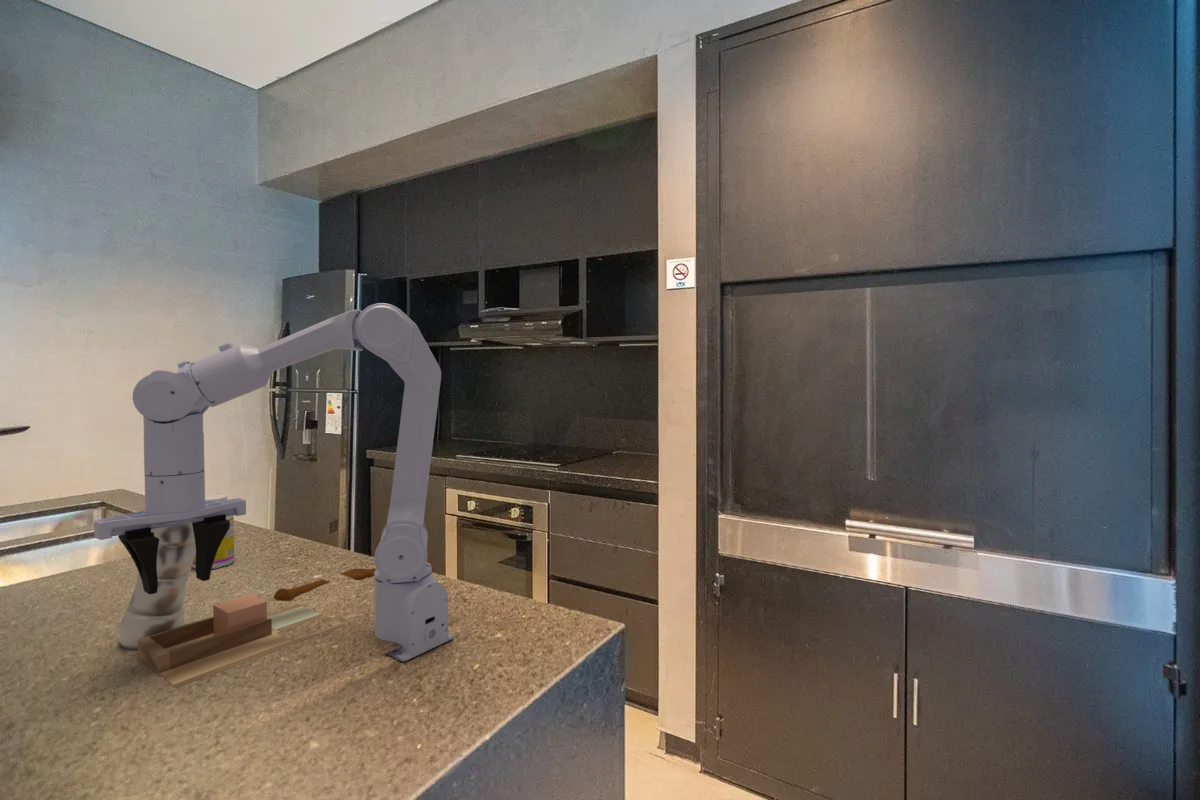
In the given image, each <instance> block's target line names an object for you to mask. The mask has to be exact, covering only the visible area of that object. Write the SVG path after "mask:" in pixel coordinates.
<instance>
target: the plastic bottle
mask: <svg viewBox="0 0 1200 800" xmlns="http://www.w3.org/2000/svg"><path fill="white" fill-rule="evenodd" d="M160 523H163V522H160ZM151 532H154V536H155V537H157V538H158V539H159V544H158V552H157V579H158V590H157V593H154V594H148V593H146V592H145V591H144V588H143V584H142V580H141V577H140V574H139V573H138V574H137V578H136V584H135V586H134V590H133V593H132V596H131V598H130V601H129V604H128V607H127V609H126V610H125V612H124V615H123V616H122V619H121V621H120V624H119V627H118V641H119V643H120V644H121V646H122V647H123V648H124V649H126V650H127V649H128V650H138V639H140V638H144V637H147V636H150V635H154V634H157V633H160V632H164V631H167V630H170V629H174V628H177V627H180V626H184V613H185V612H184V611H185V609H184V604H185V596H186V591H187V590H186V589H187V583H188V580H189V576H190V573H191V571H192V570H191V569H192V563H193V560H194V558H195V555H196V545H195V537H194V531H193V526H192V523H187V524H182V525H176V526H170V527H164V528H159V529H153V530H151Z"/></svg>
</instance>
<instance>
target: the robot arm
mask: <svg viewBox="0 0 1200 800" xmlns="http://www.w3.org/2000/svg"><path fill="white" fill-rule="evenodd" d="M363 347H364V348H365V349H366V350H368V351H369V352H371V353H372V354H374V355H375V356H377V357H378V358H380V359H383V361H385V362H387V363H388V364H389V366H390V367H391V369H392V370H393V371H394V372H395V373H396V374H397V375H398V376H399V377H400V379H401V380H402V381H403V382H404V388H403V390H404V391H403V394H402V396H403V397H402V405H401V414H400V422H399V429H398V435H397V436H398V438H397V445H396V454H395V460H394V461H395V462H394V468H393V469H394V470H393V478H392V486H391V493H390V502H389V508H388V515H387V518H386V524H385V526H384V528H383V529H382V532H381V535H380V542H378V545H377V547H376V549H375V551H374V556H373V560H374V566H375V569H377V570H376V571H375V572H374V576H373V577H374V579H373V583H374V587H373V588H374V590H373V593H374V636H375V637H376V638H377V639H378V640H381V641H386V642H391V643H395V644H398V645H401V646H399V647H397V648H394V649H393V650H390V651H388V652H386V653H385V655H388V656H390V657H392V658H393V659H394V658H395V659H396V660H399V661H401V662H406V661H409V660H411V659H413V658H415V657H417V656H419V655H421V654H423V653H426V652H428V651H430V650H432V649H433V648H436V647H438V646H440V645H443V644H444V643H446V642H449V641H451V640H453V639H454V634H453V633H451V632H449V595H448V591H447V588H445V586H444V585H443V584H442V583H440V582H439V581H437V580H436V578H435V577H434V574H433V572H432V571H433V569H432V564H431V563H430V562H428V547H427V546H428V542H429V532H428V529H427V527H426V524H425V513H426V503H427V496H428V495H427V494H428V488H429V479H430V478H429V477H430V470H431V463H432V455H433V448H434V447H433V445H434V438H435V430H436V421H437V415H438V414H437V413H438V406H439V399H440V398H439V397H440V388H441V381H442V370H441V368H440V365H439V363H438V362H437V359H436V358H435V356H434V354H433V353H432V351H431V349H430V347H429V345H428V343H427V341H426V340H425V338H424V336H423V334H422V332H421V330H420V329H419V327H418V325H417V324H416V323H415V322H414V321H413V320H412V319H411V318H410V317H409V316H408V315H407V314H406V313H405V312H403V310H402V309H400V308H399V307H397V306H395V305H393V304H390V303H384V302H380V303H379V302H377V303H373V304H370V305H368V306H367V307H365V308H364V309H363V310H361V309H360V308H358V309H352V310H349V311H346V312H343V313H341V314H338V315H335V316H332V317H330V318H327V319H325V320H322V321H321V322H320V321H319V323H315V324H313V325H311V326H309V327H306V328H304V329H302V330H299V331H297V332H294V333H292V334H290V335H287V336H285V337H283V338H280V339H279V340H276V341H273V342H272V343H269V344H267V345H264V346H262V347H260V348H258V347H254V346H251V345H249V344H246V343H239V344H238V345H235V344H234V343H231V342H227V343H224V344H222V345H220V346H218V350H219V352H216V353H213V354H211V355H208V356H206V357H205V356H204V357H203V358H200V359H197V360H195V361H192V362H191V361H190V360H184V361H180V362H177V371H176V372H175V371H172V370H167V369H166V370H164V369H162V370H161V369H158V370H154V371H152V372H150V374H148V375H146V376H143V377H142V378H141V379H140V380H138V382H137V383H136V384H135V386H134V388H133V392H132V401H133V405H134V408H135V409H136V410H137V412H138V413H139V414H141V415H142V416H143V465H144V466H143V467H144V469H143V470H144V472H143V474H144V507H145V508H144V509H143V510H140V511H135V512H130V513H126V514H121V515H116V516H111V517H106V518H99V519H94V520H93V531H94V533H93V535H94V538H95V539H97V540H100V541H103V540H108V539H112V538H113V537H116V536H117V537H118V539H119V541H120V543H122V545H123V547H124V548H125V549H126V551H127V552H128V554H129V555H130V557H131V559H132V561H133V562H134V564H135V568H136V569H137V571H138V575H139V574H140V577H141V580H142V584H143V588H144V591H145V592H146V593H148V594H154V593H157V590H158V579H157V552H158V544H159V539H158V538H157V537H155V536H154V532H151V530H153V529H159V528H164V527H170V526H176V525H182V524H187V523H192V526H193V531H194V537H195V545H196V569H195V575H196V579H198V580H200V581H202V582H205V581H209V580H210V578H211V574H212V570H213V569H212V565H213V562H214V559H215V556H216V553H217V551H218V548H219V546H220V544H221V542H222V540H223V538H224V537H225V535H226V533H227V532H228V530H229V528H230V521H229V520H226V517H227V516H233V515H234V516H237V517H239V516H244V515H245V516H246V515H247V501H246V499H244V498H240V497H236V498H229V499H227V500H220V501H209V502H205V496H206V478H205V477H206V476H205V475H206V472H205V433H204V414H205V413H206V412H207V411H208V409H209V407H211V408H214V407H217V406H219V405H222V404H224V403H226V402H230V401H232V400H234V399H237V398H239V397H240V398H241V396H242V397H243V396H244V395H246V394H250V393H251V392H254V391H256V390H259V389H262V388H264V387H266V386H267V385H268V383H269V380H270V378H271V376H272V374H273V373H274V372H276V371H279V370H280V369H283V368H286V367H287V368H288V367H289V366H292V365H295V364H298V363H301V362H303V361H306V360H309V359H312V358H314V357H317V356H321V355H323V354H325V353H328V352H331V351H333V350H347V351H356V352H357V351H358V352H362V351H364V350H363ZM160 522H163V523H160Z"/></svg>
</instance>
